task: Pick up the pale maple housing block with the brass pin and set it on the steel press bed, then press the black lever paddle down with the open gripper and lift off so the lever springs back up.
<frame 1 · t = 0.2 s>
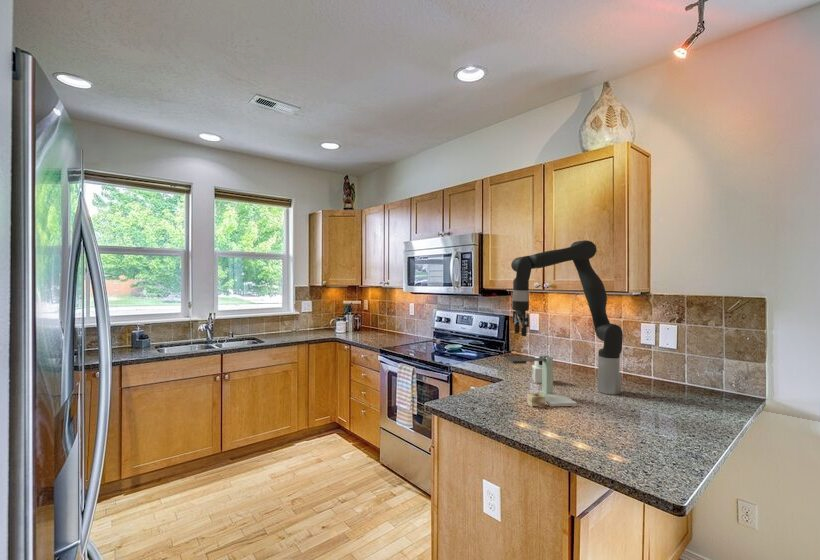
hand: (520, 334, 181), 28 cm above the worktop, tool pointing down, fingers open, 8 cm apart
press lever: (529, 359, 180), point 17 cm above the worktop, hinge at 0.0°
press frame: (556, 402, 172), on the worktop
container: (540, 381, 205), on the worktop
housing: (535, 405, 168), on the worktop
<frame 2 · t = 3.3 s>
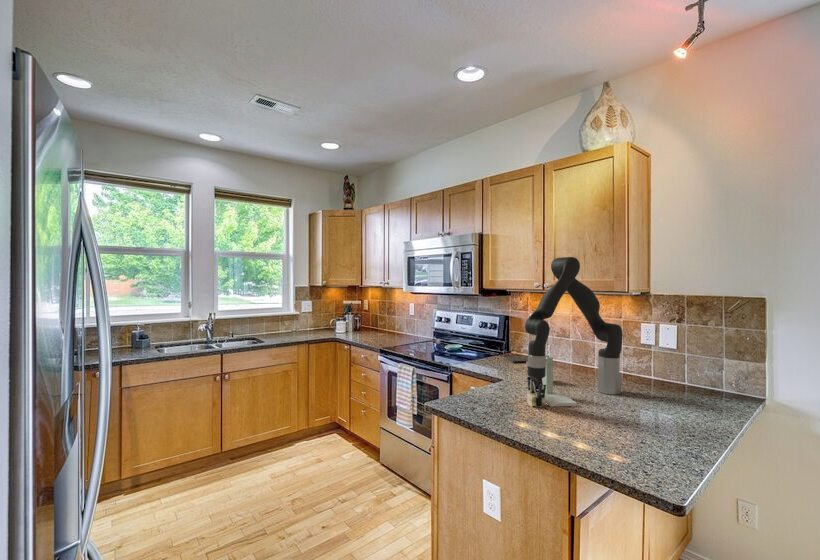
hand: (535, 403, 168), 1 cm above the worktop, tool pointing down, fingers closed on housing, 5 cm apart
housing: (536, 405, 168), on the worktop, touching gripper
everything else where it was.
when the fingers open (3 cm above the worktop, at t = 9.3 s): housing drops 1 cm, resting on press frame.
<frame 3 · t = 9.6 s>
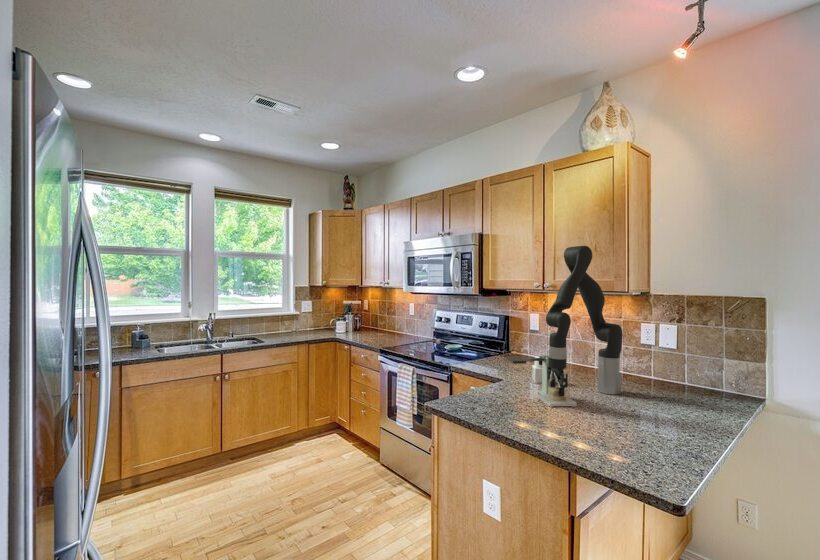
hand: (557, 393, 172), 4 cm above the worktop, tool pointing down, fingers open, 7 cm apart
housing: (557, 398, 172), point 1 cm above the worktop, touching press frame
everything else where it was.
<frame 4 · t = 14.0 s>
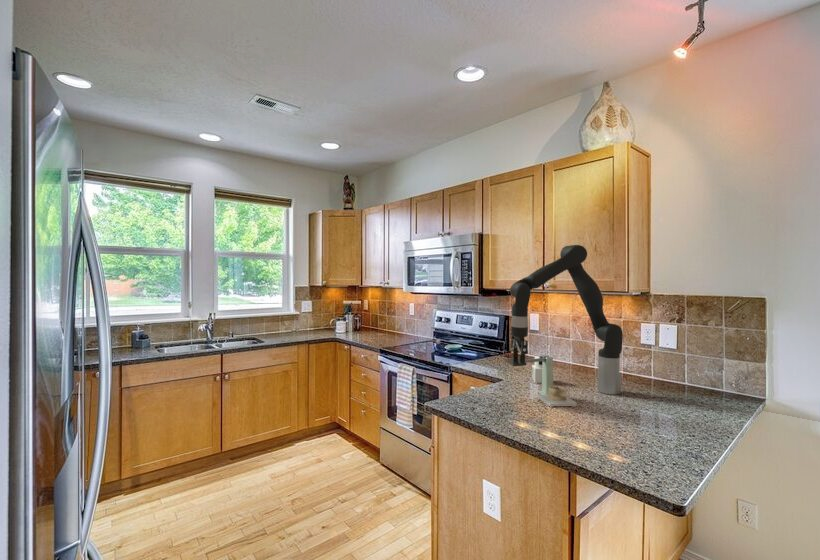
hand: (518, 360, 180), 17 cm above the worktop, tool pointing down, fingers open, 8 cm apart
press lever: (530, 360, 180), point 16 cm above the worktop, hinge at 4.0°, touching gripper
everything else where it was.
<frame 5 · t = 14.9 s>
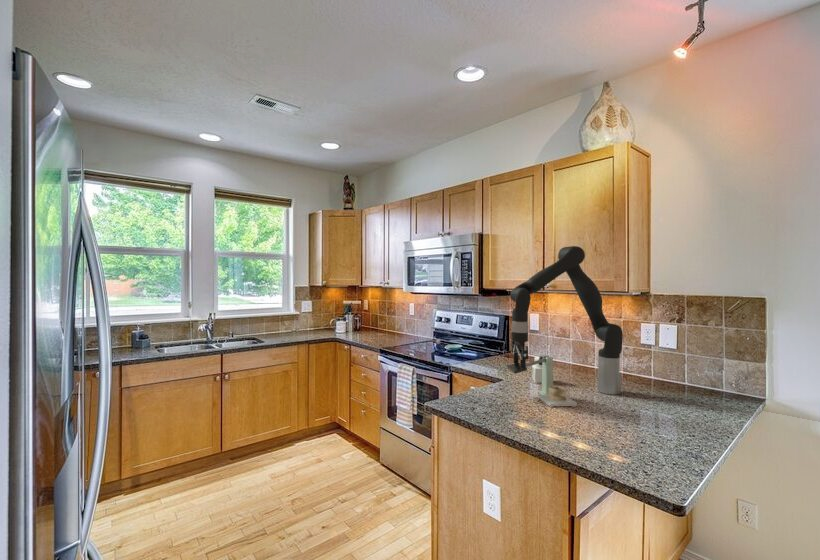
hand: (519, 365, 180), 14 cm above the worktop, tool pointing down
press lever: (530, 364, 180), point 15 cm above the worktop, hinge at 14.2°, touching gripper
everything else where it was.
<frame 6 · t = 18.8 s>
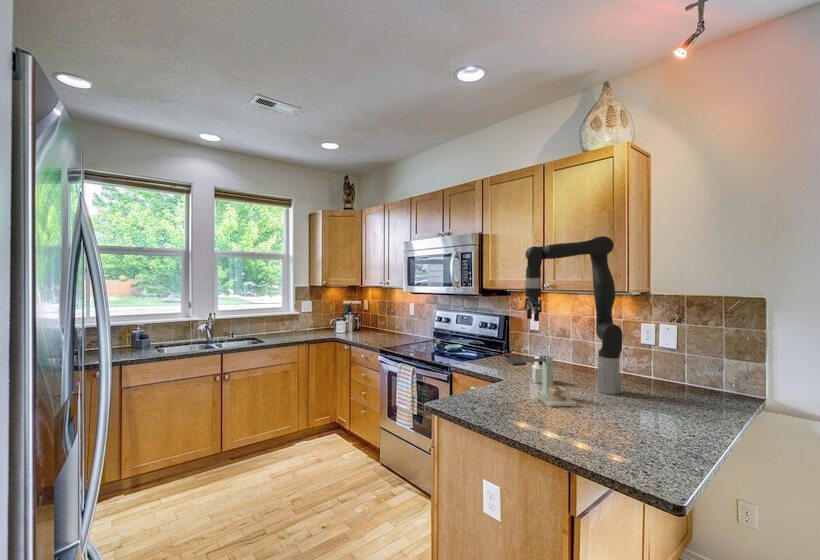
hand: (532, 320, 191), 34 cm above the worktop, tool pointing down, fingers open, 8 cm apart
press lever: (529, 360, 180), point 16 cm above the worktop, hinge at 3.4°
everything else where it was.
at the end: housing inside the target area on the press frame (0.1 cm from its centre), point 1.5 cm above the press frame's base; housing tilted 0°; press lever at +3° (first picture: +0°) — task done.
